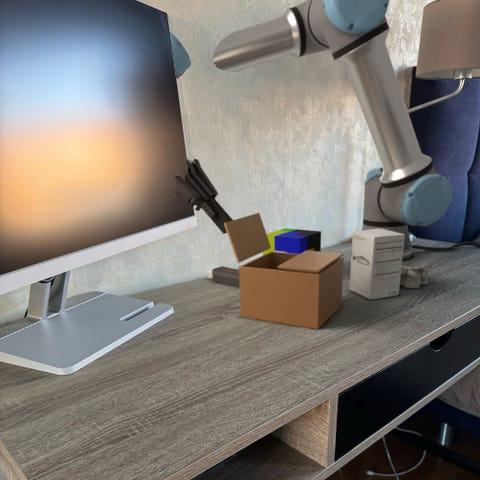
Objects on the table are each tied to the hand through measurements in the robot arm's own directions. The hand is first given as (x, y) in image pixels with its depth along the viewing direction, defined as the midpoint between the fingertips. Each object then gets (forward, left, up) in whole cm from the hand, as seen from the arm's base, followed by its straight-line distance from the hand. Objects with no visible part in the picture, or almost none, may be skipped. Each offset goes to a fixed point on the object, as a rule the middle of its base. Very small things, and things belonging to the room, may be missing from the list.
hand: (229, 228), depth 85 cm
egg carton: (-37, -10, -15) cm, 41 cm away
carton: (-11, +6, -15) cm, 20 cm away
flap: (-4, +2, -1) cm, 5 cm away
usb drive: (+1, -16, -15) cm, 22 cm away
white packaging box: (-29, -3, -15) cm, 33 cm away
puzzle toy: (-14, -20, -15) cm, 29 cm away
